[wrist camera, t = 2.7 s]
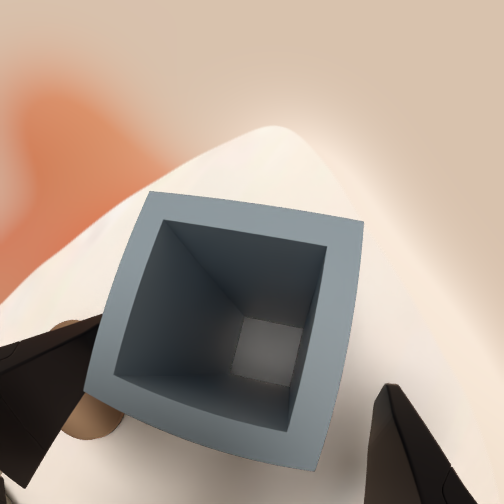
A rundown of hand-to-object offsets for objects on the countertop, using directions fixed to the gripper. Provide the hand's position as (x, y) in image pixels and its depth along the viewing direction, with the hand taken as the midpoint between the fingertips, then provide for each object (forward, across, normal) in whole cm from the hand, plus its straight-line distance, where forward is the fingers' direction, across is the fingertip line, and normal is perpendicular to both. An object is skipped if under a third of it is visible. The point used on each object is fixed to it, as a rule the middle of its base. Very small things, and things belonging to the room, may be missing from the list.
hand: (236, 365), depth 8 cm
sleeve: (+7, 0, +6) cm, 9 cm away
